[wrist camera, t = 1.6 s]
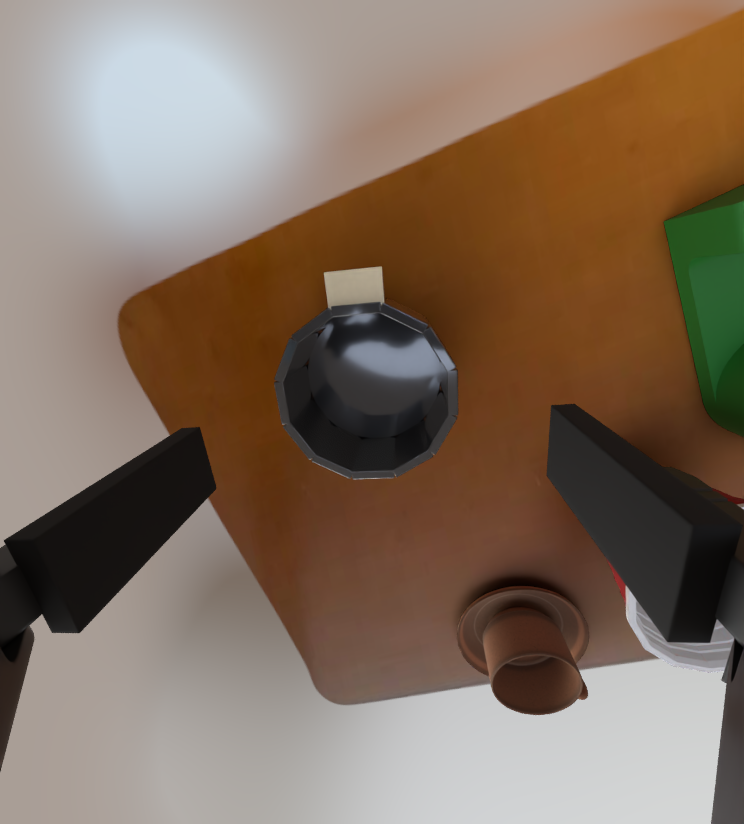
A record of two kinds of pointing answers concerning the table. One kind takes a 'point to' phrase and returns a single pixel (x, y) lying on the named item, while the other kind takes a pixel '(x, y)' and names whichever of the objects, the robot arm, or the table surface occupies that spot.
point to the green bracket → (714, 299)
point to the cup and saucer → (526, 647)
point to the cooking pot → (366, 382)
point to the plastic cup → (679, 654)
